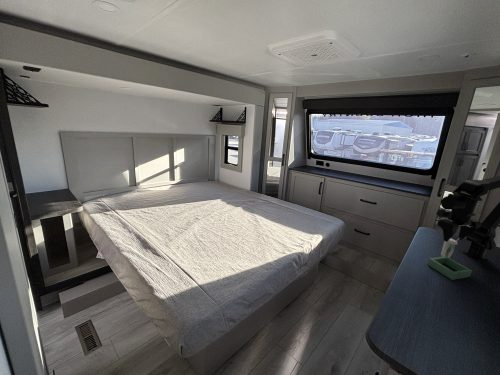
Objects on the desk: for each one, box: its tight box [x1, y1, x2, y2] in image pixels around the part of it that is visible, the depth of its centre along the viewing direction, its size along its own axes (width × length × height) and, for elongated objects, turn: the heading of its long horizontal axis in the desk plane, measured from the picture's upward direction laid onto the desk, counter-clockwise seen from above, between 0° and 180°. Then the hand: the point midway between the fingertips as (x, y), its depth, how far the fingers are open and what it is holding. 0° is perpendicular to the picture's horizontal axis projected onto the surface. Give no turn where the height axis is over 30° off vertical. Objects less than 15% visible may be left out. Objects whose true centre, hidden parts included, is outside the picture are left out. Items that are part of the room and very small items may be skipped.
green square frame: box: [426, 256, 473, 281], centre depth 93 cm, size 10×10×3 cm
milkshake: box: [440, 237, 460, 259], centre depth 102 cm, size 4×5×10 cm
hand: (452, 240), depth 101 cm, fingers open, 9 cm apart
